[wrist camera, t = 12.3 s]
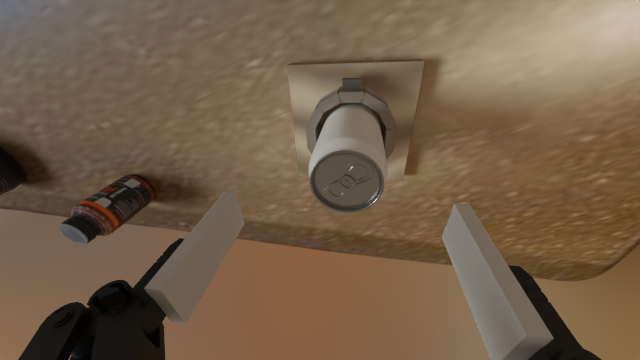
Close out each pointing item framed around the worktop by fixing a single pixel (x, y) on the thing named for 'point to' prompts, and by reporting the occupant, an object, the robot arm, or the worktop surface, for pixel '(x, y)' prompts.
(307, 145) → the grey ring holder base
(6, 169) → the jar
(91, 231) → the supplement bottle
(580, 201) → the worktop surface
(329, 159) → the can
